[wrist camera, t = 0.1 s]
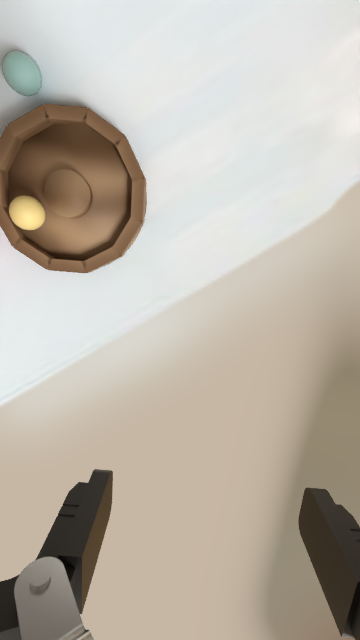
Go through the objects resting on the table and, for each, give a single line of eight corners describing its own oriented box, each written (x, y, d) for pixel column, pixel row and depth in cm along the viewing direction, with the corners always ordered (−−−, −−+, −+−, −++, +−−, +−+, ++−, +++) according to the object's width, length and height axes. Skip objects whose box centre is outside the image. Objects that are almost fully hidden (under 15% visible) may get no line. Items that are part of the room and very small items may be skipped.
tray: (-2, 109, 35) (-17, 98, 32) (150, 122, 35) (147, 112, 32) (7, 264, 39) (-6, 265, 37) (142, 275, 39) (139, 277, 37)
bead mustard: (19, 197, 36) (0, 191, 32) (50, 199, 36) (35, 194, 32) (20, 229, 37) (2, 227, 33) (51, 232, 37) (36, 230, 33)
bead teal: (14, 62, 34) (-7, 40, 30) (47, 65, 34) (30, 43, 30) (16, 100, 35) (-5, 83, 31) (48, 103, 35) (31, 86, 31)
